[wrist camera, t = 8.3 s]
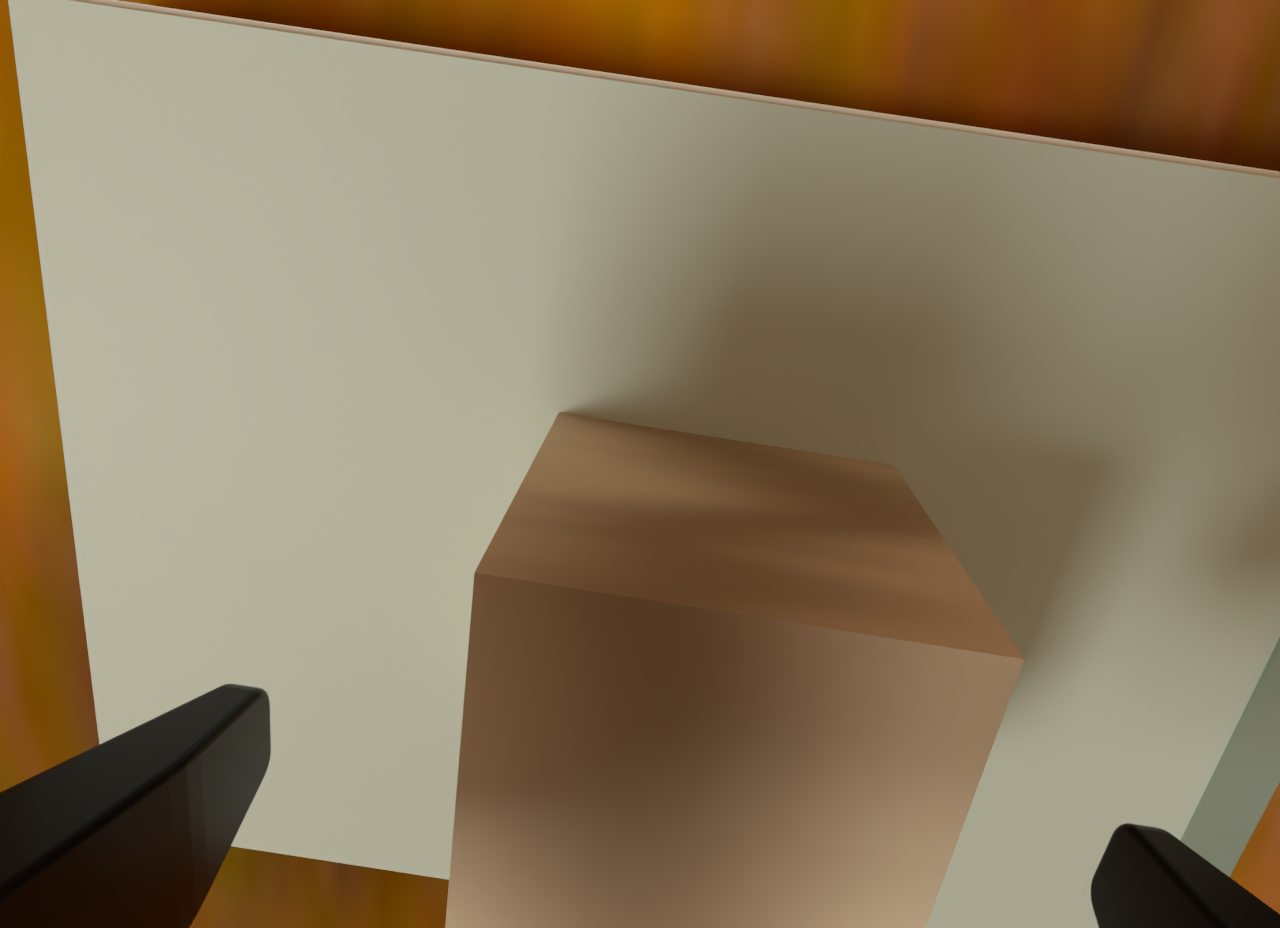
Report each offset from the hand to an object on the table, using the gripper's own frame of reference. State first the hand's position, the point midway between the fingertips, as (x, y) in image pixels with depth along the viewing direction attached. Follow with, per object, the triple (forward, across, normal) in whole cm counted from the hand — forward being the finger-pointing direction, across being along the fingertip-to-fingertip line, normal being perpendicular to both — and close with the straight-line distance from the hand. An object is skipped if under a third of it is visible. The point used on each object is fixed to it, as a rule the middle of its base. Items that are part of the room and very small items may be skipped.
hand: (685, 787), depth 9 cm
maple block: (+5, 0, 0) cm, 5 cm away
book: (+7, 0, 0) cm, 7 cm away
